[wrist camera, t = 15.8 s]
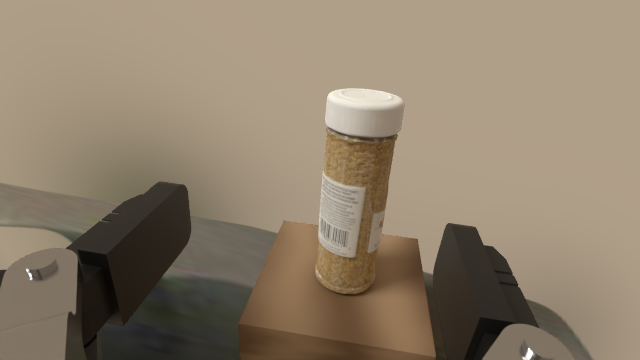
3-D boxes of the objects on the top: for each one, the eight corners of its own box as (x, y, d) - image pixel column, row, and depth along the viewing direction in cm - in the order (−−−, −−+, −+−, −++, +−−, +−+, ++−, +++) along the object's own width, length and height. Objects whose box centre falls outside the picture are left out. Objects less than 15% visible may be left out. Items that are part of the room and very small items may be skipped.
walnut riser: (241, 395, 26) (238, 323, 23) (282, 280, 36) (283, 220, 33) (414, 428, 24) (436, 357, 21) (404, 298, 35) (417, 239, 32)
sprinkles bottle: (387, 285, 26) (422, 101, 21) (333, 305, 24) (356, 107, 18) (352, 250, 30) (373, 84, 24) (302, 265, 28) (313, 87, 22)
